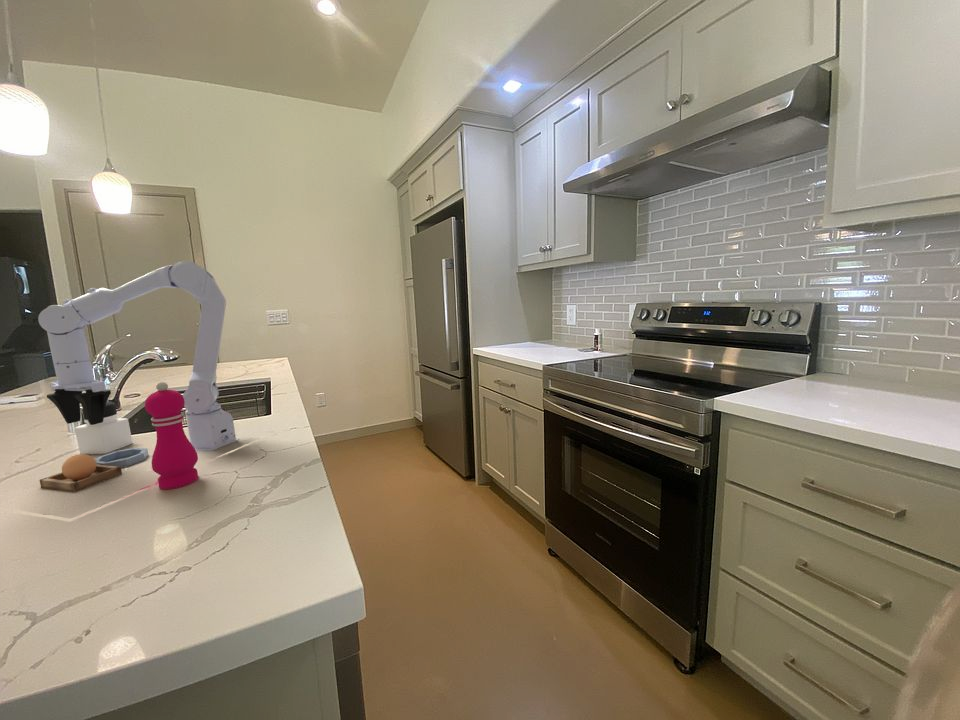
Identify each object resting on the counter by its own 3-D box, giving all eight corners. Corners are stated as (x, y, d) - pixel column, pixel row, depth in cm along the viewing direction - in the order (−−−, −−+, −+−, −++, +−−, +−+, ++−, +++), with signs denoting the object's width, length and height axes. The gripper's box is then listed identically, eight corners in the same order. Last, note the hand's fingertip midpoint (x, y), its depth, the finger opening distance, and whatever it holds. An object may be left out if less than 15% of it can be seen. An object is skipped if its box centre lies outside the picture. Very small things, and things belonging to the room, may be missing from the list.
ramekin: (156, 457, 95) (155, 449, 95) (113, 473, 87) (111, 464, 86) (130, 455, 98) (128, 447, 97) (85, 470, 89) (84, 461, 89)
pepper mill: (177, 491, 76) (158, 386, 73) (145, 490, 78) (126, 386, 75) (210, 475, 83) (194, 378, 80) (180, 473, 85) (163, 378, 81)
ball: (105, 473, 84) (99, 450, 84) (76, 485, 80) (69, 460, 79) (88, 472, 86) (82, 449, 85) (58, 483, 81) (52, 459, 80)
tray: (122, 475, 85) (120, 466, 85) (75, 494, 78) (72, 484, 77) (90, 472, 88) (88, 463, 88) (41, 489, 81) (39, 479, 80)
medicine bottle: (133, 444, 105) (125, 399, 104) (106, 455, 98) (96, 406, 97) (108, 445, 106) (99, 400, 104) (79, 455, 99) (69, 407, 97)
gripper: (26, 365, 87) (40, 427, 89) (71, 365, 83) (85, 430, 85) (68, 360, 94) (80, 417, 96) (111, 359, 89) (123, 419, 91)
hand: (85, 422), depth 91 cm, fingers open, 7 cm apart
